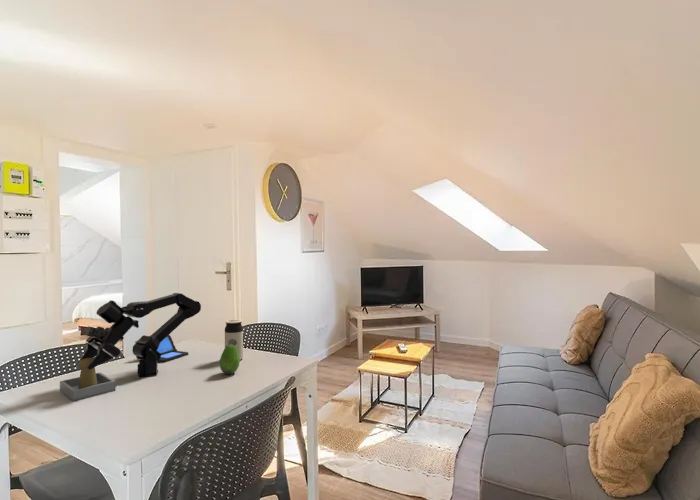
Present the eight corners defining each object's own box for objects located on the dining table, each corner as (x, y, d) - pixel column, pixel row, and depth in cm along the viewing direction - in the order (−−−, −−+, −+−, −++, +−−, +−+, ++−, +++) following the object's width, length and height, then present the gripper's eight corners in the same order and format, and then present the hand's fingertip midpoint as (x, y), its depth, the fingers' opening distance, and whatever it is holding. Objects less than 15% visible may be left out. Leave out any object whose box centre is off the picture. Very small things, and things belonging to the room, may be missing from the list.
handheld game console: (163, 363, 169) (163, 343, 169) (141, 360, 174) (141, 340, 174) (189, 354, 183) (189, 335, 183) (169, 352, 188) (169, 333, 188)
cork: (87, 392, 132) (87, 361, 132) (73, 391, 133) (73, 360, 133) (102, 386, 138) (102, 356, 138) (88, 385, 139) (88, 355, 139)
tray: (59, 390, 135) (59, 381, 136) (99, 381, 145) (99, 372, 145) (73, 401, 126) (73, 391, 126) (115, 390, 136) (115, 380, 136)
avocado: (240, 375, 152) (240, 345, 152) (219, 377, 149) (219, 347, 149) (239, 369, 159) (239, 341, 159) (219, 371, 157) (219, 342, 157)
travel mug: (229, 356, 178) (229, 319, 178) (245, 357, 177) (245, 319, 177) (221, 361, 170) (221, 322, 171) (238, 362, 169) (238, 322, 169)
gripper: (91, 315, 145) (56, 349, 136) (110, 320, 133) (72, 358, 124) (114, 332, 151) (82, 366, 142) (134, 338, 139) (100, 376, 130)
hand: (83, 366), depth 135 cm, fingers open, 9 cm apart
